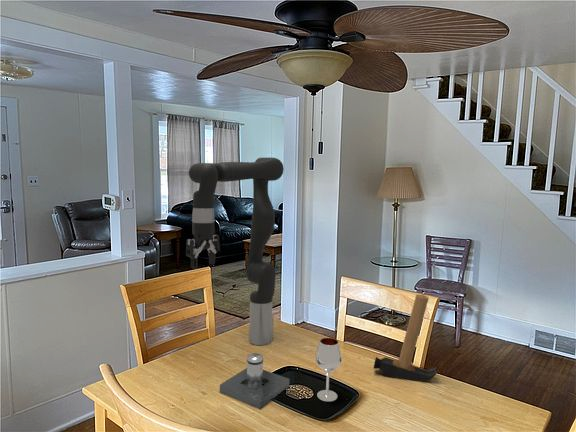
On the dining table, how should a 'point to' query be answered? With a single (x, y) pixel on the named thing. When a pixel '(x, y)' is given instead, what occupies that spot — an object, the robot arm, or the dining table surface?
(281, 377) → the grey square frame
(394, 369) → the hammer
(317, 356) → the wineglass
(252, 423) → the dining table surface
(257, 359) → the cylinder
